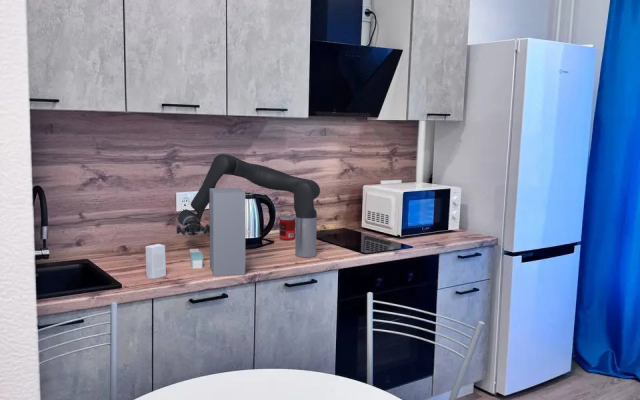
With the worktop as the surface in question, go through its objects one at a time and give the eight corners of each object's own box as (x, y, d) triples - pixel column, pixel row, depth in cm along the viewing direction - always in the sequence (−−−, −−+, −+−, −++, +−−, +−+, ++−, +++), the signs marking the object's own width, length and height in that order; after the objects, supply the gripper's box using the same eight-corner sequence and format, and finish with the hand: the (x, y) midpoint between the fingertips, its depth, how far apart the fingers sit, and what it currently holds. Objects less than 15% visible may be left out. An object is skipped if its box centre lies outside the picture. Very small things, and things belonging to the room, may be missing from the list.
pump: (188, 256, 260) (188, 244, 259) (199, 255, 261) (199, 244, 260) (191, 268, 239) (191, 256, 238) (203, 268, 240) (203, 255, 239)
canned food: (296, 238, 302) (297, 216, 301) (292, 241, 295) (292, 219, 293) (282, 237, 304) (282, 215, 302) (277, 240, 296) (277, 218, 295)
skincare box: (159, 274, 229) (158, 243, 228) (166, 276, 227) (165, 245, 225) (145, 277, 225) (145, 246, 223) (152, 279, 222) (151, 247, 220)
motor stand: (209, 267, 241) (209, 188, 236) (239, 266, 244) (239, 187, 240) (213, 276, 227) (213, 192, 223) (245, 274, 231) (245, 192, 226)
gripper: (175, 217, 263) (177, 224, 248) (208, 216, 267) (211, 222, 252) (175, 234, 264) (177, 241, 249) (208, 233, 268) (212, 240, 253)
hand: (194, 232), depth 250 cm, fingers open, 8 cm apart
